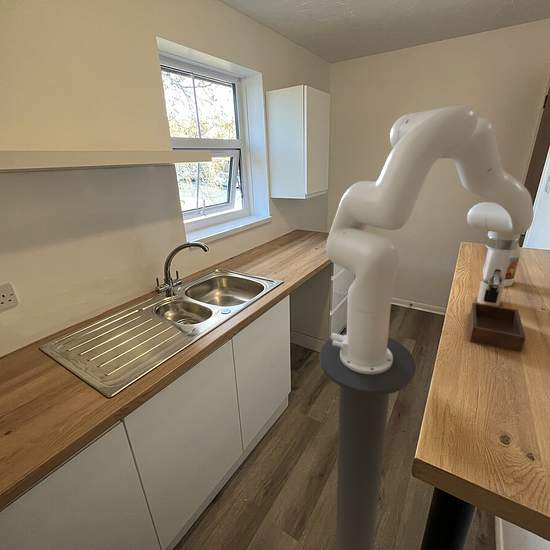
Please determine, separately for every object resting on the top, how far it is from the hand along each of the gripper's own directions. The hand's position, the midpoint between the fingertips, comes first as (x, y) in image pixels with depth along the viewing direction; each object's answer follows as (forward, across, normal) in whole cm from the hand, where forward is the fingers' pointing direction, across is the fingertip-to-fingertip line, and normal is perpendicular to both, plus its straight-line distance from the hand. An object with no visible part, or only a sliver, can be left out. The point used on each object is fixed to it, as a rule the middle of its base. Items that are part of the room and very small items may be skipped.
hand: (489, 296), depth 95 cm
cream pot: (+2, 0, 0) cm, 2 cm away
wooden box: (+2, +18, 0) cm, 18 cm away
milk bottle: (+2, -18, +4) cm, 19 cm away
